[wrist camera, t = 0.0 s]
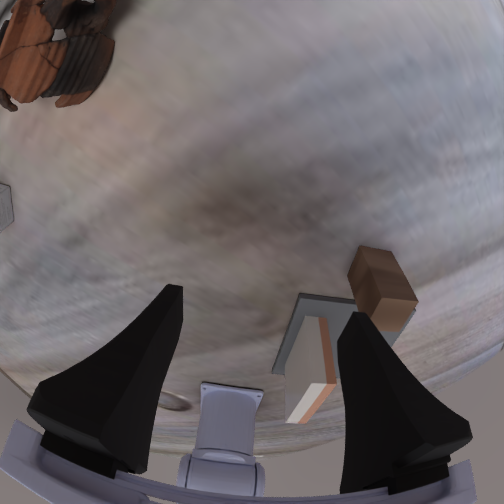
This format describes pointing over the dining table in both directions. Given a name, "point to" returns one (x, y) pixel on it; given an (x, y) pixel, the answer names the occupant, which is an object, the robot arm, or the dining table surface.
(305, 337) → the whetstone
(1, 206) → the skincare box
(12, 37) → the pottery mug
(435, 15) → the dining table surface
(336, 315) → the mat
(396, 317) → the walnut block
